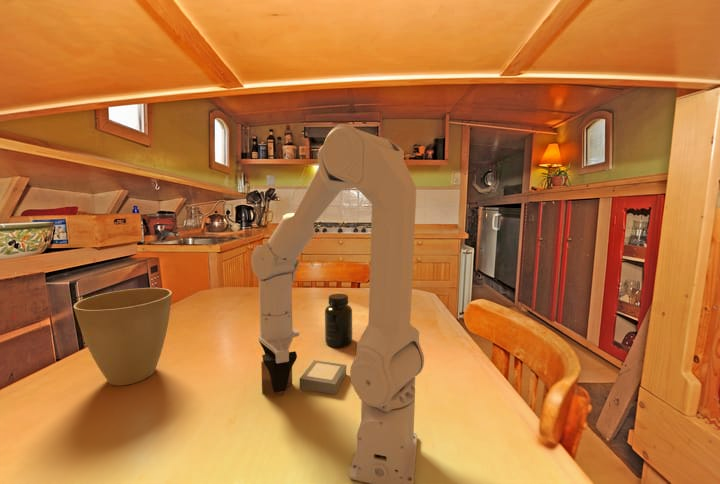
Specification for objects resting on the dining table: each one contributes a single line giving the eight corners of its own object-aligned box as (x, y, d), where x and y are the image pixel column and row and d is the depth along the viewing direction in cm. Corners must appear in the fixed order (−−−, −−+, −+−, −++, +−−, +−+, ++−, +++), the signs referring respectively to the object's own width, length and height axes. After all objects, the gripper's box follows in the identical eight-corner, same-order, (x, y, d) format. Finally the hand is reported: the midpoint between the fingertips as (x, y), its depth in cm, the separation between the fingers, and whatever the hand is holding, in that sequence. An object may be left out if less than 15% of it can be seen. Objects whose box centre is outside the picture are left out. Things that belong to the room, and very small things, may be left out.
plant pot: (187, 354, 69) (183, 286, 67) (155, 394, 54) (149, 308, 52) (113, 359, 66) (107, 288, 64) (58, 402, 52) (49, 312, 50)
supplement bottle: (340, 334, 81) (340, 290, 79) (357, 342, 76) (358, 296, 75) (319, 342, 76) (319, 295, 75) (336, 351, 71) (337, 302, 70)
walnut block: (282, 396, 54) (281, 364, 53) (262, 393, 55) (261, 361, 54) (292, 384, 58) (291, 354, 57) (273, 380, 59) (272, 351, 58)
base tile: (335, 394, 55) (335, 383, 54) (299, 388, 56) (299, 378, 56) (346, 374, 61) (346, 364, 61) (314, 369, 63) (314, 359, 63)
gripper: (307, 321, 50) (307, 399, 51) (291, 297, 63) (292, 359, 64) (262, 327, 47) (264, 409, 48) (255, 300, 60) (257, 365, 62)
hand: (277, 381), depth 56 cm, fingers closed on walnut block, 6 cm apart
